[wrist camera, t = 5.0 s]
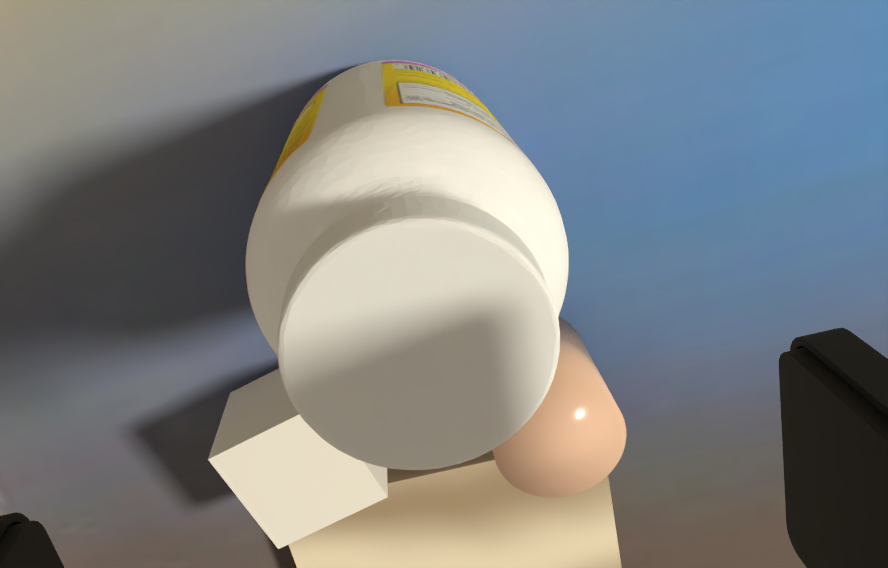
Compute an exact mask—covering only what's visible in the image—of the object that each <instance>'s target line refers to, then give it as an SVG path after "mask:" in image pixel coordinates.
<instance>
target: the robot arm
mask: <svg viewBox="0 0 888 568" xmlns="http://www.w3.org/2000/svg"><path fill="white" fill-rule="evenodd" d="M779 378H780V399H781V419H782V440H783V461H784V481H785V502H786V523H787V530H788V534H789V537H790V540H791V543H792V545H793V547H794V549H795V551H796V553H797V554H798V556H799V558H800V559H801V560H802V562H803V563H804V564H805V566H806V567H807V568H888V359H887V358H886V357H884V356H883V355H882V354H880V353H879V352H877V351H876V350H875V349H873V348H872V347H871V346H869V345H868V344H867V343H865V342H864V341H862V340H861V339H860V338H858V337H857V336H856V335H854V334H853V333H852V332H850V331H849V330H847V329H844V328H837V329H833V330H828V331H824V332H819V333H815V334H810V335H806V336H801V337H797V338H795V339H794V340H793V341H792V344H791V347H790V351H788V352H784V353H782V354H781V356H780V359H779ZM0 568H64V566H63V564H62V562H61V560H60V558H59V556H58V554H57V552H56V550H55V548H54V546H53V544H52V542H51V540H50V538H49V536H48V534H47V532H46V530H45V528H44V527H43V525H42V524H40V523H39V522H38V521H29V519H28V518H27V517H26V516H24V515H23V514H21V513H11V514H7V515H2V516H0Z"/></svg>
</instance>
